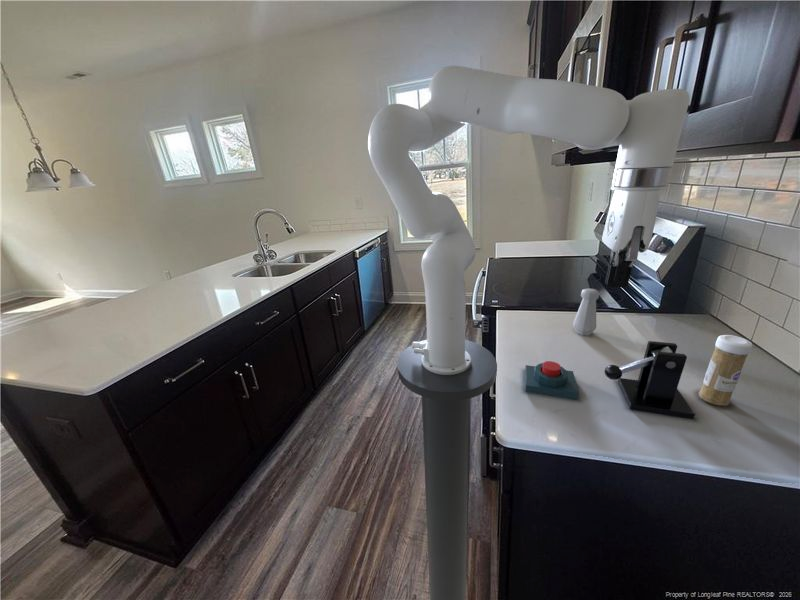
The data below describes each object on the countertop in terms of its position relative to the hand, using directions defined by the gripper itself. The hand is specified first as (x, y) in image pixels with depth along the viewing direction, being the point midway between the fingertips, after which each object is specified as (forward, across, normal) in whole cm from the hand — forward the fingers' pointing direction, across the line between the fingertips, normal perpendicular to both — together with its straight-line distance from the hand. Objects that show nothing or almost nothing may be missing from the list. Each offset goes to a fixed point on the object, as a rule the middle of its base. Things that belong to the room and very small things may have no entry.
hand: (615, 285), depth 59 cm
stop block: (+24, 0, -8) cm, 25 cm away
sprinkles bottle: (+24, -3, +22) cm, 32 cm away
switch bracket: (+24, 0, +11) cm, 26 cm away
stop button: (+21, 0, -8) cm, 22 cm away
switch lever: (+17, 0, +8) cm, 19 cm away
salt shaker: (+24, -28, +3) cm, 37 cm away
